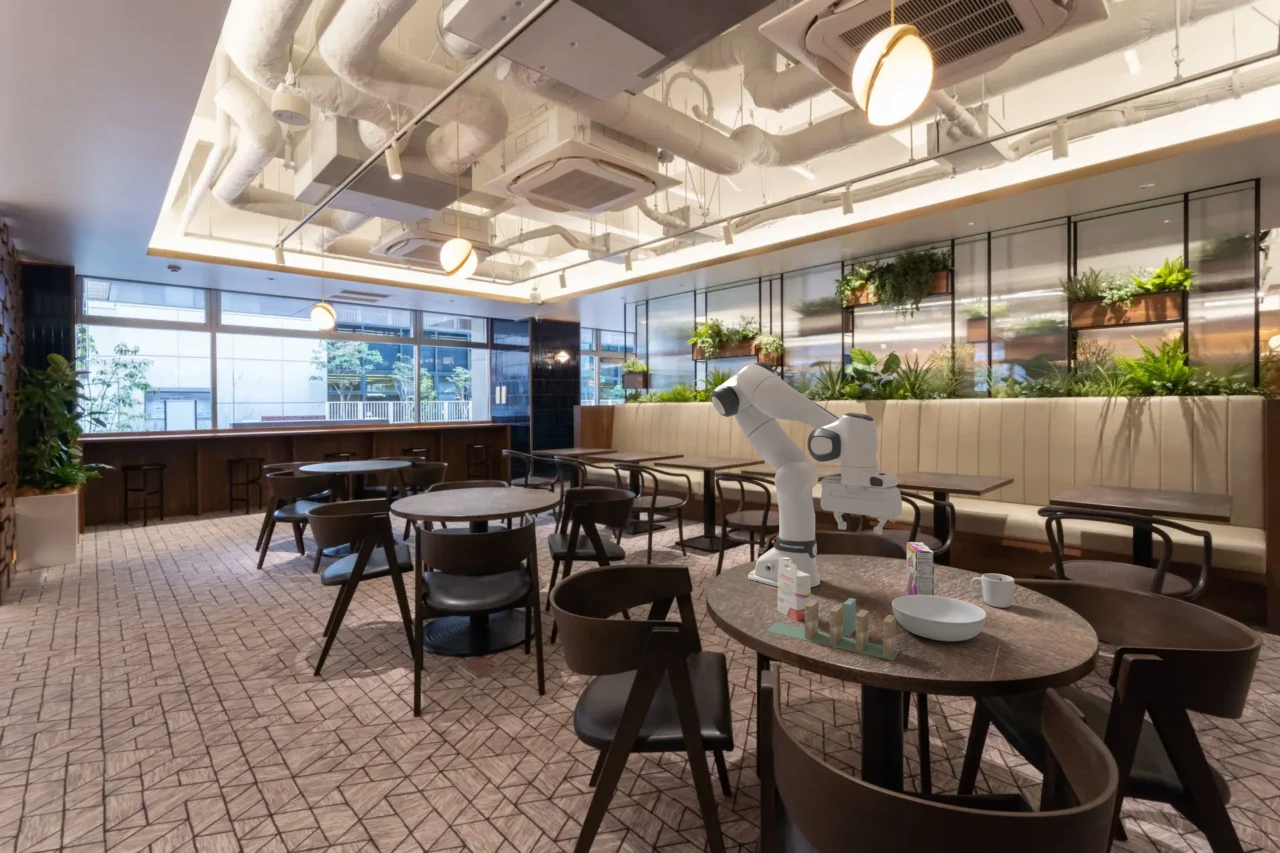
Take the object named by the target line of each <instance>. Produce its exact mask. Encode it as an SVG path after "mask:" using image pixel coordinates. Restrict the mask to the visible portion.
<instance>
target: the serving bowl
mask: <svg viewBox="0 0 1280 853" xmlns="http://www.w3.org/2000/svg"><path fill="white" fill-rule="evenodd" d="M906 595H907V594H906ZM906 595H903V596H898V597H896V598H894V599H893V600H892V601H891V609H892V612H893V615H894V616H896V622H898V623H899V625H900V626H901V627H903V628H904V629H905V630H906V631H908V632H910V633H911V634H913V635H916V636H919V637H923V638H926V639H928V640H929V639H930V640H934V641H940V642H960V641H961V642H962V641H966V640H967V641H968V640H970V639H972V638H973V639H974V638H975V637H976V636H978V634H980V633H981V632H982V630H984V627H985V625H986V622H987V613H986V611H985V610H984V609H983V608H981V607H979V606H977V605H975V604H973V603H970V602H968V601H965V600H961V599H958V598H953V597H948V596H940V595H934V596H933V595H907V596H906Z"/></svg>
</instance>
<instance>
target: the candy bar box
mask: <svg viewBox="0 0 1280 853" xmlns="http://www.w3.org/2000/svg"><path fill="white" fill-rule="evenodd" d="M934 556H935V552H934V550H932V549H931V548H930V547H929V546H928V545H927V544H926V543H924V542H920V541H919V542H917V541H907V542H906V595H905V596H907V595H933V596H935V595H934V587H935V586H934V584H935V582H934V580H935V579H934V576H935V575H934V574H935V573H934V570H935V566H934V565H935V564H934V563H935V558H934Z"/></svg>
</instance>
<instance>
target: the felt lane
mask: <svg viewBox="0 0 1280 853" xmlns="http://www.w3.org/2000/svg"><path fill="white" fill-rule="evenodd" d="M765 631H766V632H768V633H773V634H778V635H782V636H786V637H791V638H795V639H798V640H804V641H807V642H812V643H815V644H816V643H817V644H820V645H825V646H829V647H834V648H836V649H837V648H838V649H842V650H846V651H850V652H854V653H858V654H864V655H867V656H873V657H877V658H880V659H886V660H889V661H895V658H896V657H897V655H898V653H899V652H900V651H901V649H899V648H895V652H894V653H893V655H892V656H891V658H889V657H885V656H883V644H882V645H881V644H877V643H872V642H868V645H867V647H866V648H865V649H864V650H863V651H858V650H856V638H855V639H854V638H850V637H847V636H843V639H842V640H841V641H840V642H839V643H838V644H837V645H832V644H830V633H826V632H822V631H818V634H817V635H816V636H814V637H813V638H812V639H806V638H805V627H800V626H795V625H791V624H786V623H782V622H775V623H774V624H773V625H771V626H770V627H768V629H766V630H765Z"/></svg>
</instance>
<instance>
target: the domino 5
mask: <svg viewBox="0 0 1280 853" xmlns="http://www.w3.org/2000/svg"><path fill="white" fill-rule="evenodd" d="M882 622H883V624H882V626H883V627H882V646H883V656H885V657H889V658H891V656H892V655H893V653H894V652H895V649H896V647H897V646H896V641H897V640H896V639H897V638H896V634H897V627H896V626H897V619H896V616H894V614H887V616H886V617H885V618H884V619H883V621H882Z"/></svg>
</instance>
